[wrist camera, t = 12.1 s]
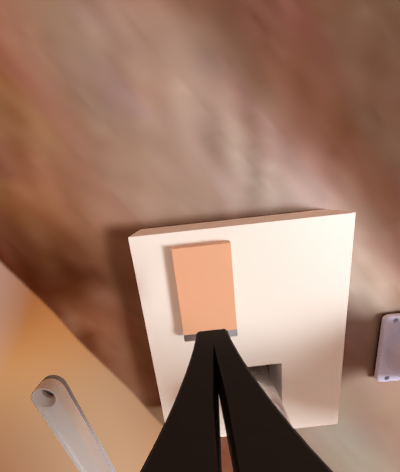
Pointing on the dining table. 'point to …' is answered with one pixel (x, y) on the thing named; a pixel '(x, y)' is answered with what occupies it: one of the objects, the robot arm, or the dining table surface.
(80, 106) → the dining table surface
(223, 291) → the block
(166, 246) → the plate
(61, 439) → the adjustable wrench
